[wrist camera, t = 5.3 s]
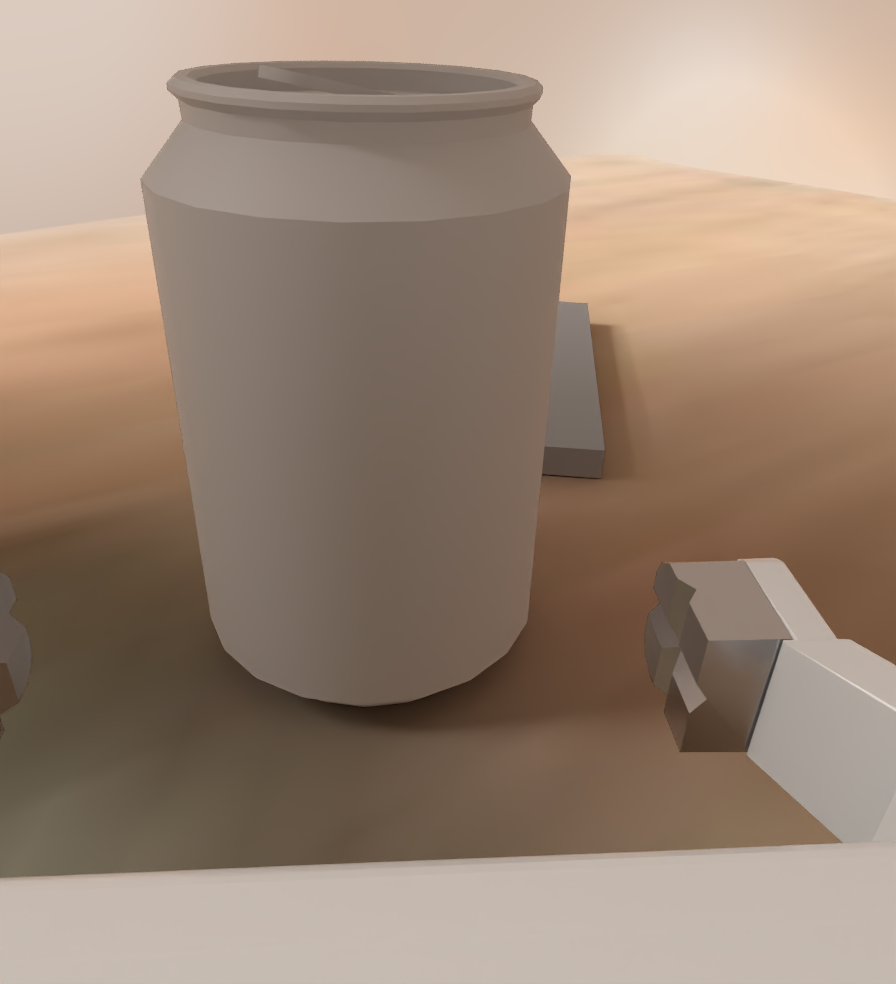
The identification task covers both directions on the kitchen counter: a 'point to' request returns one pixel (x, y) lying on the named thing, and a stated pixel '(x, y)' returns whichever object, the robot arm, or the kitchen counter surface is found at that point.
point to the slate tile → (573, 400)
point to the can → (361, 361)
